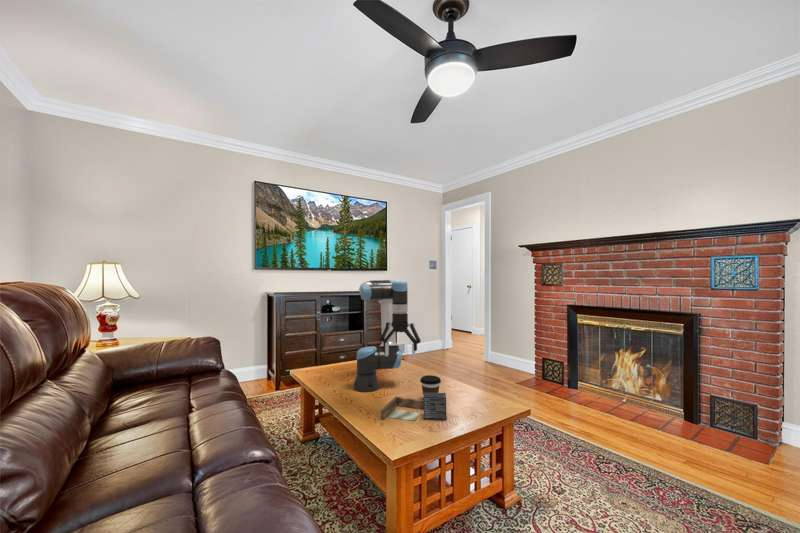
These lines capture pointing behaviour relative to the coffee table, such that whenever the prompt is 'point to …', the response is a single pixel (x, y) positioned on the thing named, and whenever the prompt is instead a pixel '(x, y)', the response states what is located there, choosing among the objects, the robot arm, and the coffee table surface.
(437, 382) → the coffee cup
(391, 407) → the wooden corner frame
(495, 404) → the coffee table surface
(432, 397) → the small box
